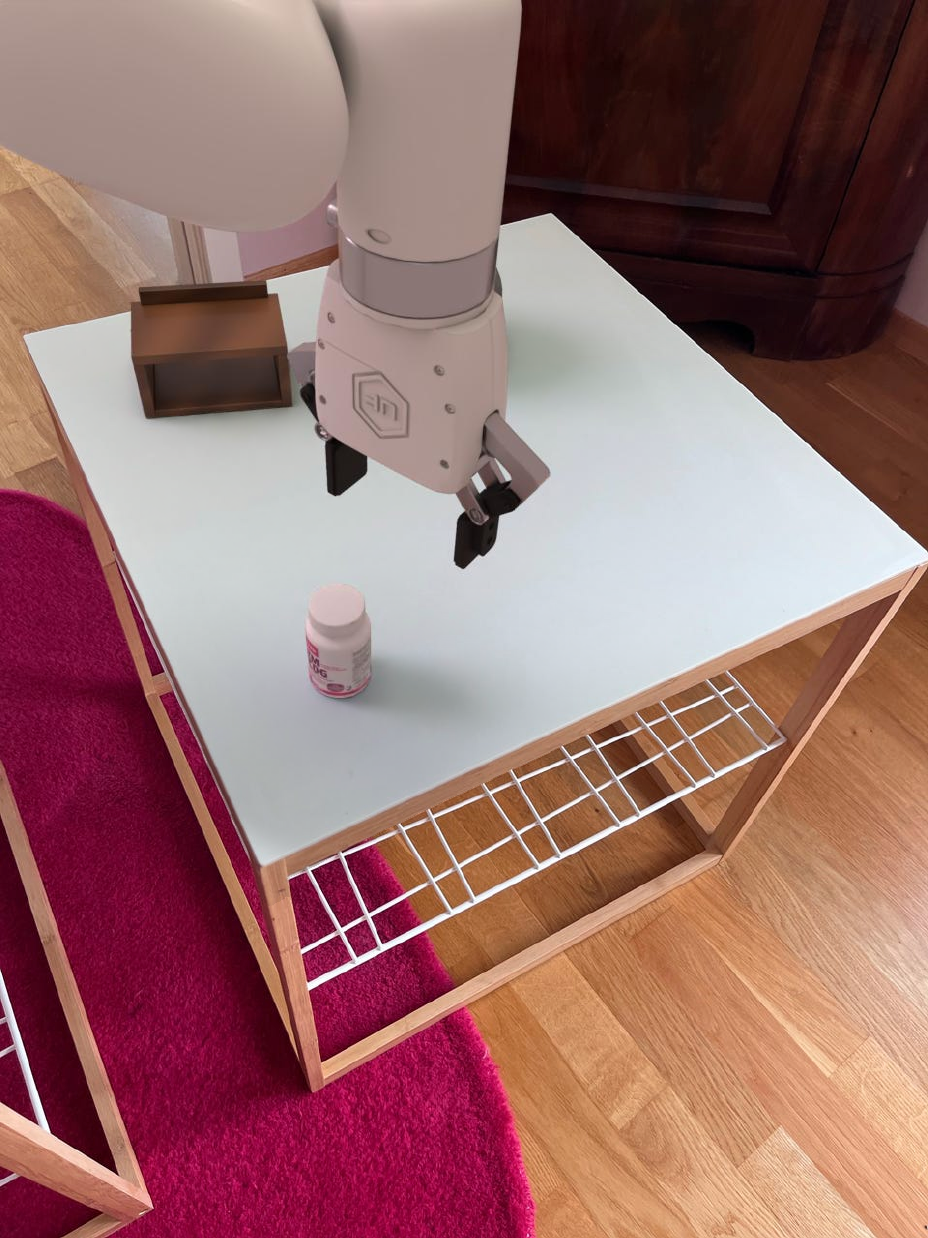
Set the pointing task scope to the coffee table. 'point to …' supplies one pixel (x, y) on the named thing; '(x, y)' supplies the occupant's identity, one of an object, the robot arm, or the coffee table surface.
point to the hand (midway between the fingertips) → (408, 518)
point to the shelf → (209, 349)
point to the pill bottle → (338, 641)
